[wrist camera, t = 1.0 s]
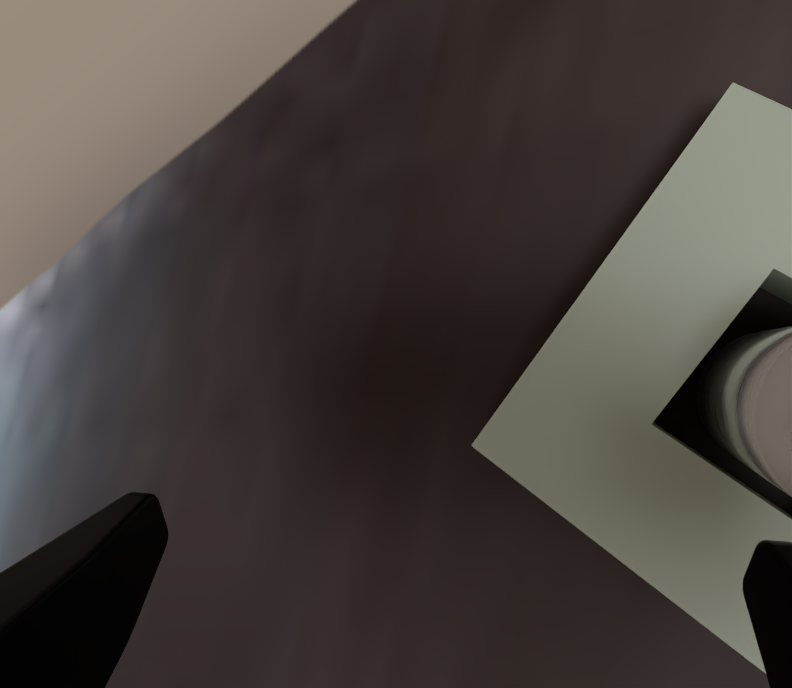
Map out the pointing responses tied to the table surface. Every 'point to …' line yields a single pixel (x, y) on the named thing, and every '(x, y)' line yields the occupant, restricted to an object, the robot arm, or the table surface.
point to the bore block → (663, 372)
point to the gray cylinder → (752, 402)
